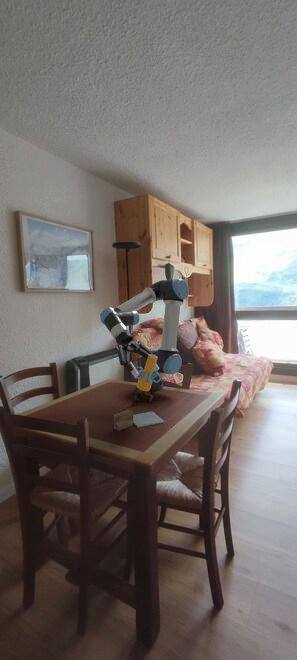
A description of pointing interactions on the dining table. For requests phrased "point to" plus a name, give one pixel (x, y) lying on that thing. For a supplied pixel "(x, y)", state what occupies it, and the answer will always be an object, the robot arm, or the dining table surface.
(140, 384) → the yellow upright looped piece
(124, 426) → the tan block
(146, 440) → the dining table surface
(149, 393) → the pottery mug
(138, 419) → the mat
